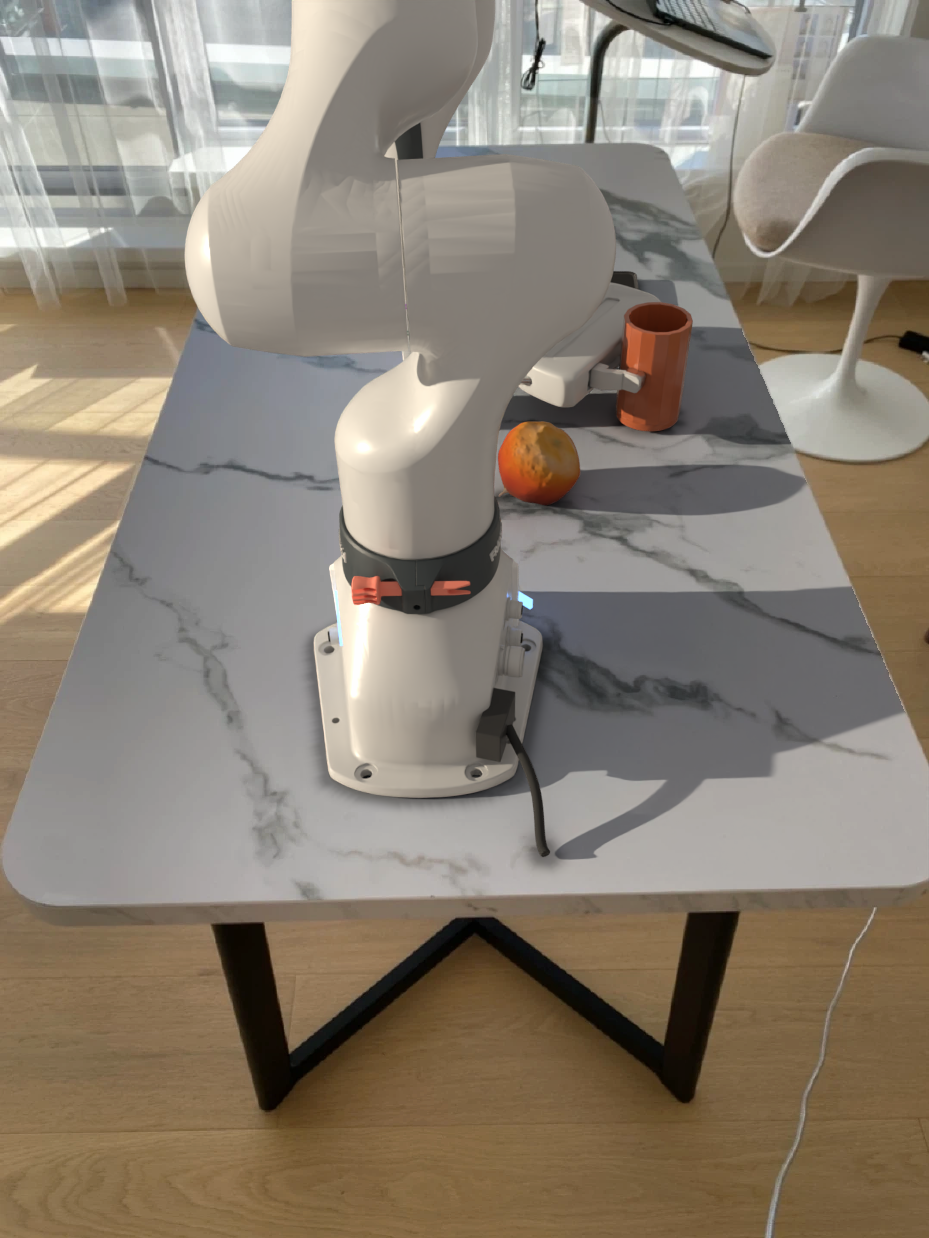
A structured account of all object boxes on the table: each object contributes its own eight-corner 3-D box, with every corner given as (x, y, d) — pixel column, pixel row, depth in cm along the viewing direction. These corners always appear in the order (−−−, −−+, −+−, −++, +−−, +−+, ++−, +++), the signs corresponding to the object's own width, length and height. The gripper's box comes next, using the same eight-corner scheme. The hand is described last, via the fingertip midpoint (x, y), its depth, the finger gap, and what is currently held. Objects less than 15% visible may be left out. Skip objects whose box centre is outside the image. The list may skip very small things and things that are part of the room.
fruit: (493, 446, 105) (535, 393, 99) (557, 491, 106) (602, 442, 100) (467, 492, 99) (509, 439, 94) (534, 540, 100) (580, 490, 95)
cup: (683, 431, 108) (697, 334, 100) (618, 432, 108) (628, 335, 100) (674, 396, 113) (687, 301, 105) (612, 397, 113) (621, 302, 105)
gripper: (489, 343, 103) (613, 383, 97) (592, 265, 115) (708, 296, 109) (490, 399, 108) (608, 440, 102) (588, 318, 120) (700, 351, 114)
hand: (661, 365), depth 106 cm, fingers closed on cup, 7 cm apart
